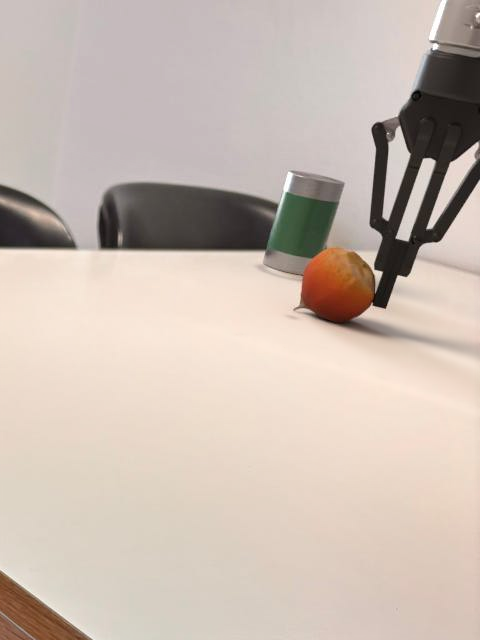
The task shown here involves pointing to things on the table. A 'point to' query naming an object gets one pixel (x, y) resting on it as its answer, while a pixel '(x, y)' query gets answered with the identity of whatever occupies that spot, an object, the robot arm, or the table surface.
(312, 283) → the fruit
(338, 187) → the tin can
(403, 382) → the table surface
